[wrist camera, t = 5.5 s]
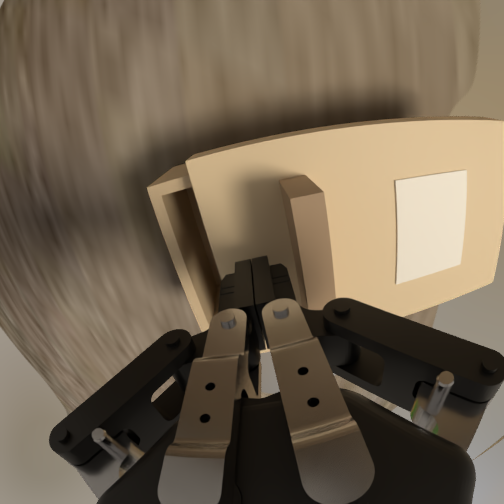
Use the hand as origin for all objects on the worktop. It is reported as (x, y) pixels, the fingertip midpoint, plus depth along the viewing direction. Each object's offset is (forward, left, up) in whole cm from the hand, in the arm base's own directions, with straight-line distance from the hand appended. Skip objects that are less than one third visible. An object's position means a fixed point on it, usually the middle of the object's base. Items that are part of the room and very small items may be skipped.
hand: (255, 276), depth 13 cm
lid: (0, +8, -3) cm, 8 cm away
